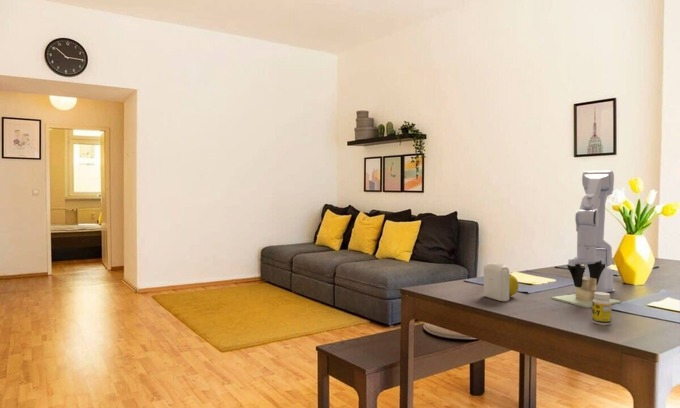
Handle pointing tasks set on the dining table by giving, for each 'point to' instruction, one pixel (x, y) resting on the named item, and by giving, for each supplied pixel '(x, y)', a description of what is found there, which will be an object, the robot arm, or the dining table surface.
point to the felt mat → (579, 300)
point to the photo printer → (496, 281)
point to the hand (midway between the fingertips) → (586, 285)
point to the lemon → (512, 285)
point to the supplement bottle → (601, 308)
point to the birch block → (586, 289)
